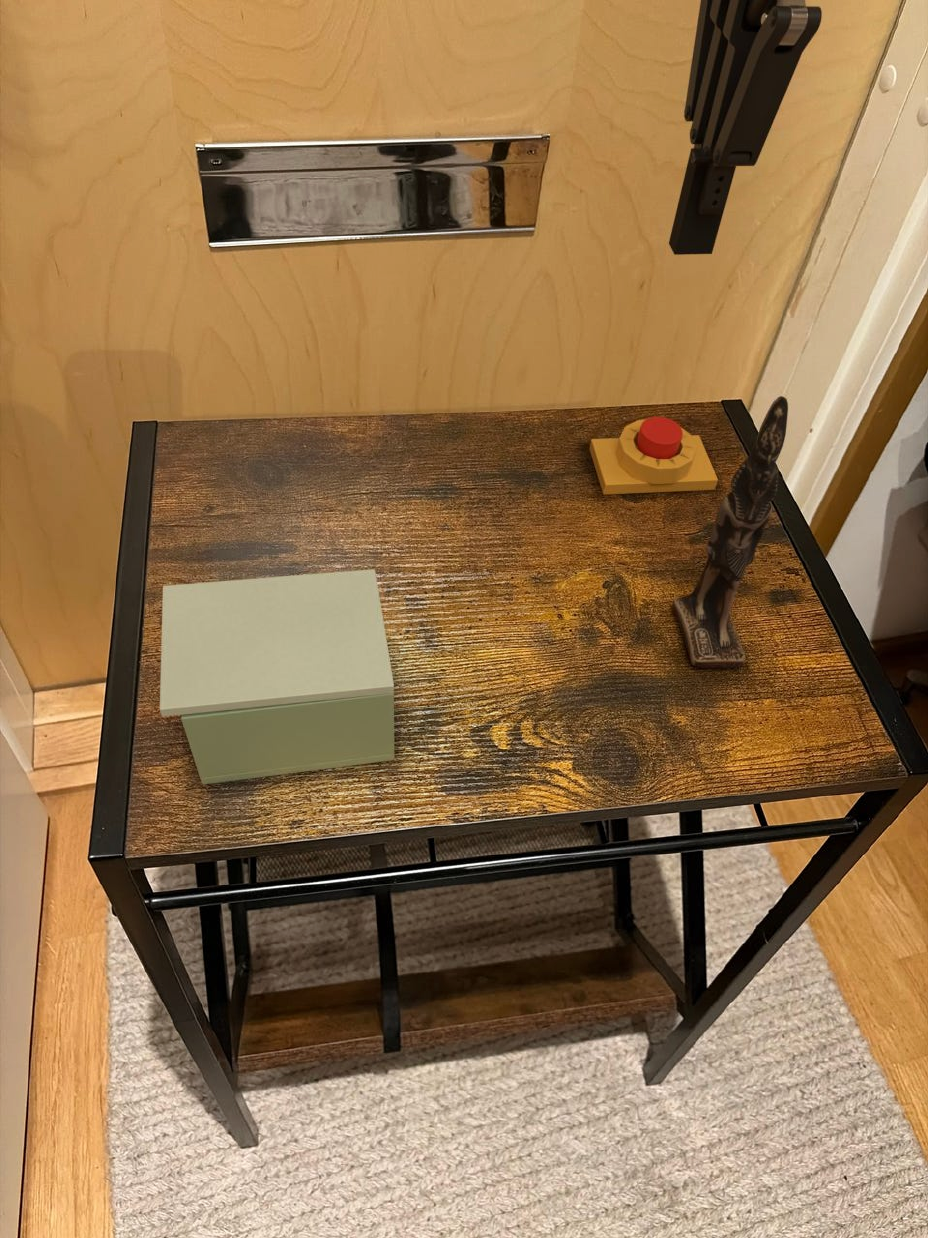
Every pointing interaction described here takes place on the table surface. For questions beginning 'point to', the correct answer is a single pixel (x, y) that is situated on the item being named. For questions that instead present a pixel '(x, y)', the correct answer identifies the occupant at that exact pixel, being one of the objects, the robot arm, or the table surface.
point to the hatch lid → (272, 642)
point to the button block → (650, 465)
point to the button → (659, 438)
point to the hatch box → (291, 737)
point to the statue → (733, 550)
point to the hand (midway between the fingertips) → (690, 248)
